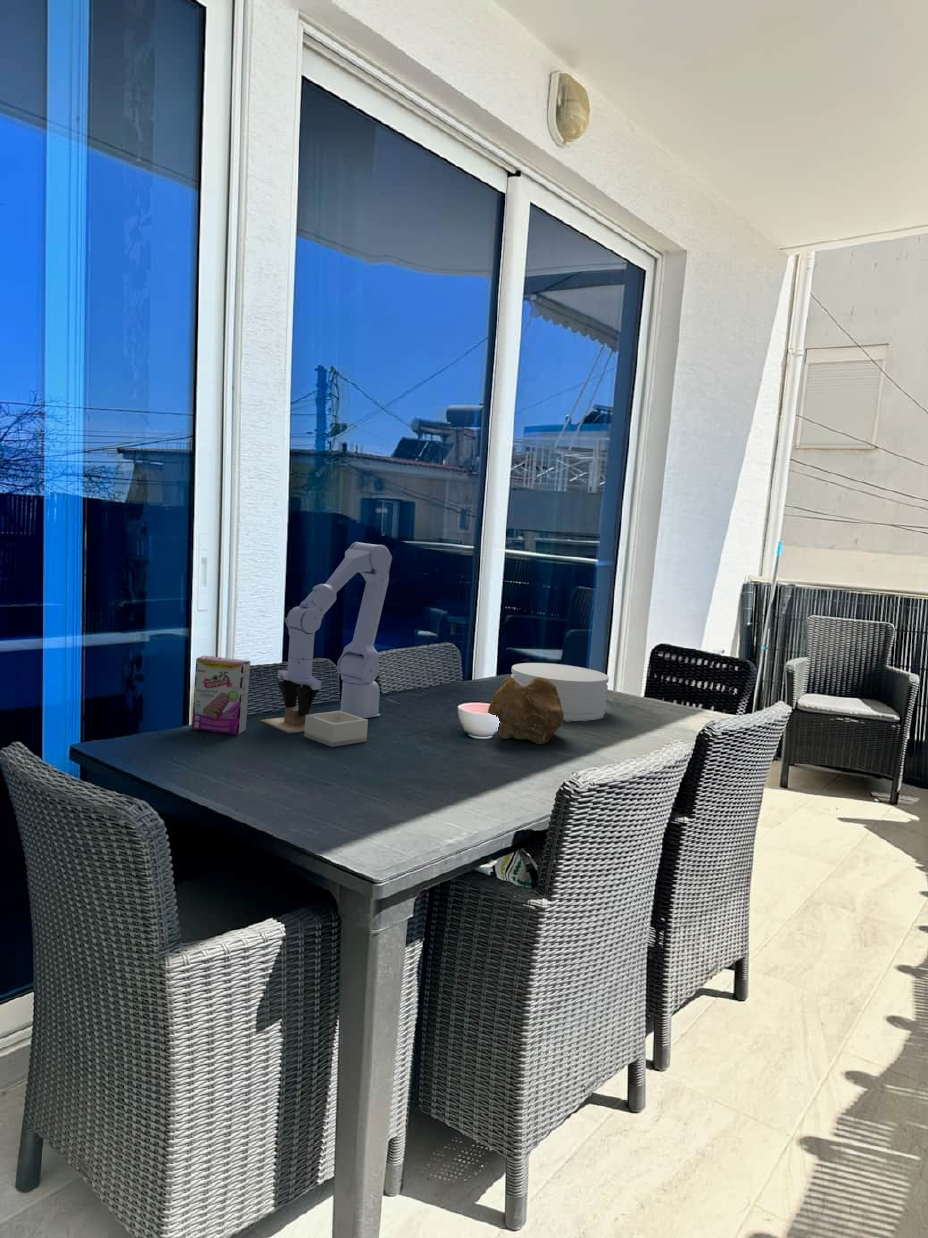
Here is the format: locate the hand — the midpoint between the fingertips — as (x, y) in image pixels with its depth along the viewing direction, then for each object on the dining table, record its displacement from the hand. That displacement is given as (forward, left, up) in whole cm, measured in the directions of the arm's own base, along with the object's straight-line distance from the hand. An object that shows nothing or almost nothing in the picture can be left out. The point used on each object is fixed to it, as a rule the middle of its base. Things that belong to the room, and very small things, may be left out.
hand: (296, 713), depth 210 cm
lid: (0, 0, -3) cm, 3 cm away
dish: (0, +15, -3) cm, 15 cm away
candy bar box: (+19, -3, -3) cm, 19 cm away
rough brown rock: (-44, +37, -3) cm, 58 cm away
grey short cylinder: (-78, +19, -3) cm, 81 cm away
